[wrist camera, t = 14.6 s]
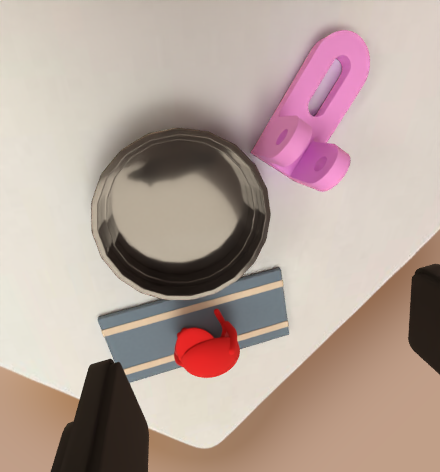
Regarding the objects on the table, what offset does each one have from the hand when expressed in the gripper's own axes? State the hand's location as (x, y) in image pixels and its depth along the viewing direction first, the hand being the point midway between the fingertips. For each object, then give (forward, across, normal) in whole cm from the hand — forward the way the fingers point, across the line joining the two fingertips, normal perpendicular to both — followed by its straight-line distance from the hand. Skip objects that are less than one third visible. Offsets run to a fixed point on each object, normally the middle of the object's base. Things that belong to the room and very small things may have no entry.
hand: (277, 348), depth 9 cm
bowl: (+22, +2, +2) cm, 22 cm away
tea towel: (+21, +3, +15) cm, 26 cm away
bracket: (+22, -12, -5) cm, 26 cm away
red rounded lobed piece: (+21, +3, +15) cm, 26 cm away
